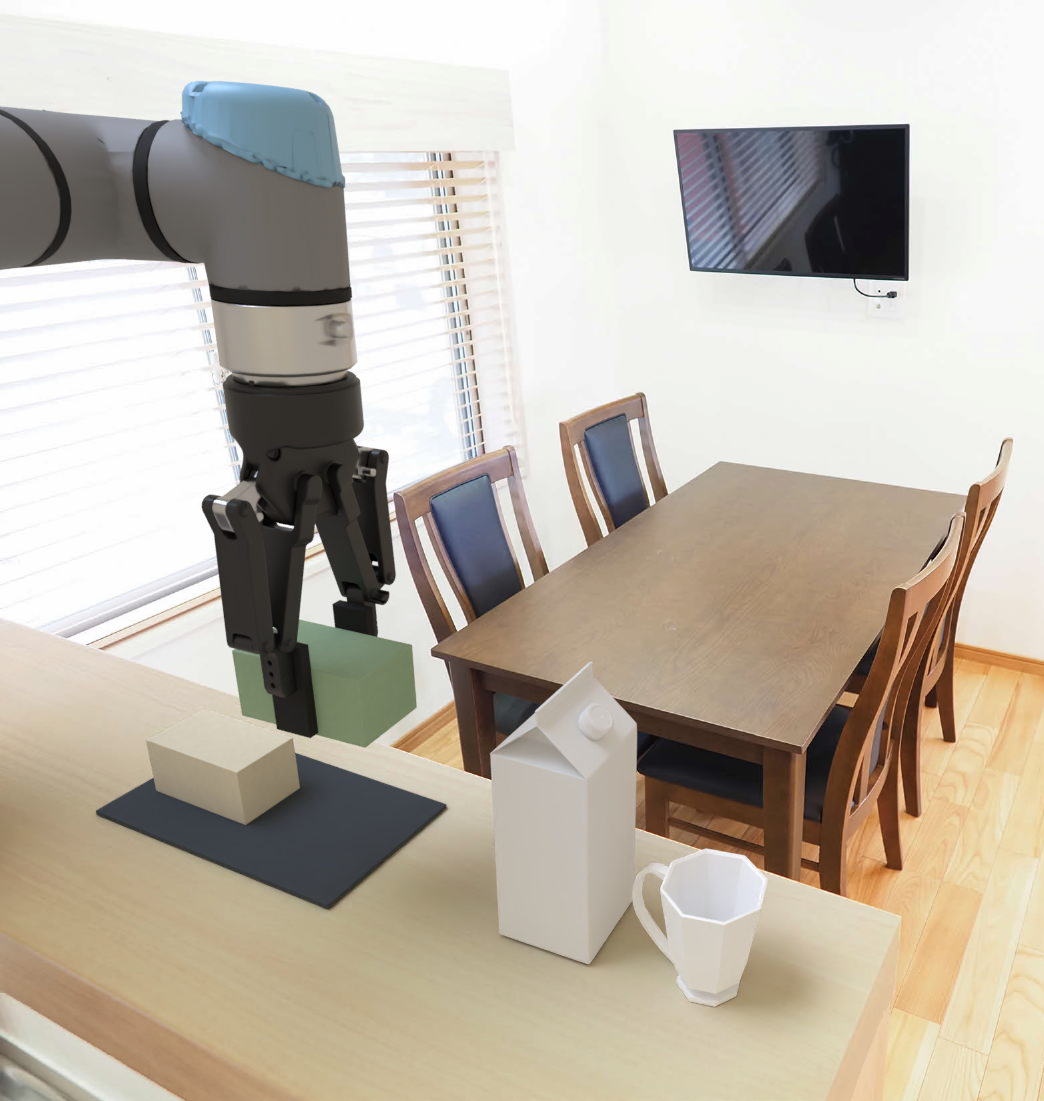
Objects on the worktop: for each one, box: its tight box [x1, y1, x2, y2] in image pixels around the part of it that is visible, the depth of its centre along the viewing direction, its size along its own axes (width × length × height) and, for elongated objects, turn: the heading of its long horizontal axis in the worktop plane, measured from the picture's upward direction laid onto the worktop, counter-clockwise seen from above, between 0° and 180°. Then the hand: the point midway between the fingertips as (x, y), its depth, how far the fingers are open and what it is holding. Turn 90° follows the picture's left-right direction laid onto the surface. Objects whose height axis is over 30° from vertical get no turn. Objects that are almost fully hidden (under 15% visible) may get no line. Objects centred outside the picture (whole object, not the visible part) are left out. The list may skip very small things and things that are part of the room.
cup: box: [632, 848, 769, 1008], centre depth 62 cm, size 7×10×8 cm
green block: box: [231, 618, 418, 749], centre depth 63 cm, size 10×6×5 cm, turn 72°
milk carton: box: [489, 661, 638, 965], centre depth 63 cm, size 7×7×19 cm
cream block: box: [145, 707, 300, 825], centre depth 77 cm, size 10×6×5 cm, turn 67°
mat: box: [95, 752, 448, 910], centre depth 76 cm, size 24×13×1 cm, turn 67°
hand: (330, 707), depth 64 cm, fingers closed on green block, 5 cm apart
